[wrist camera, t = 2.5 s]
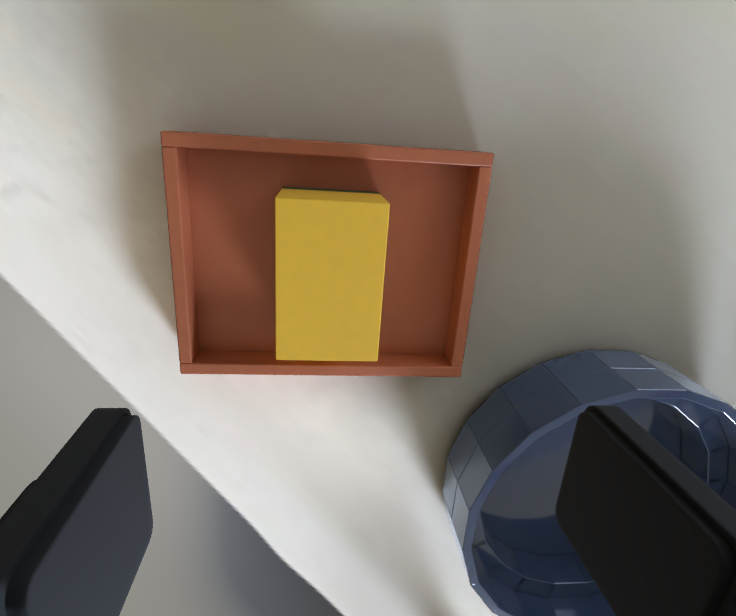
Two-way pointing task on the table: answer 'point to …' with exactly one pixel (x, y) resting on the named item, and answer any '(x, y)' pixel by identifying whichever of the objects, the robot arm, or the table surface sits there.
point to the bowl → (547, 465)
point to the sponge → (329, 273)
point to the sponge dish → (257, 248)
